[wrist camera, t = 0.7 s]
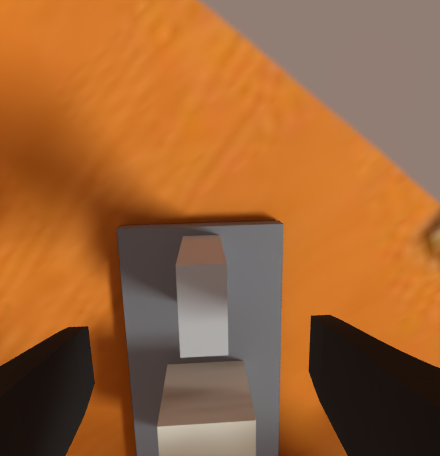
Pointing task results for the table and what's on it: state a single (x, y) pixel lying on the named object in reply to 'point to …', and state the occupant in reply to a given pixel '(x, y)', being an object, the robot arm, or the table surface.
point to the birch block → (206, 411)
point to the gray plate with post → (202, 313)
